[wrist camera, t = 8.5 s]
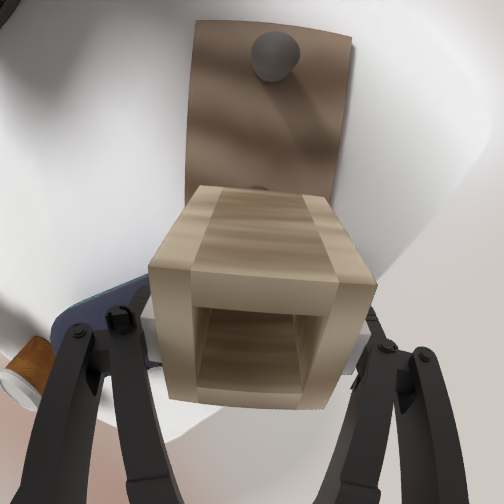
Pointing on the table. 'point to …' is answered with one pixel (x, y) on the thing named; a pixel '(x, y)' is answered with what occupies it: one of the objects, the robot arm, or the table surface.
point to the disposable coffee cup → (28, 373)
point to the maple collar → (257, 299)
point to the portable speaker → (97, 313)
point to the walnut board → (265, 107)
